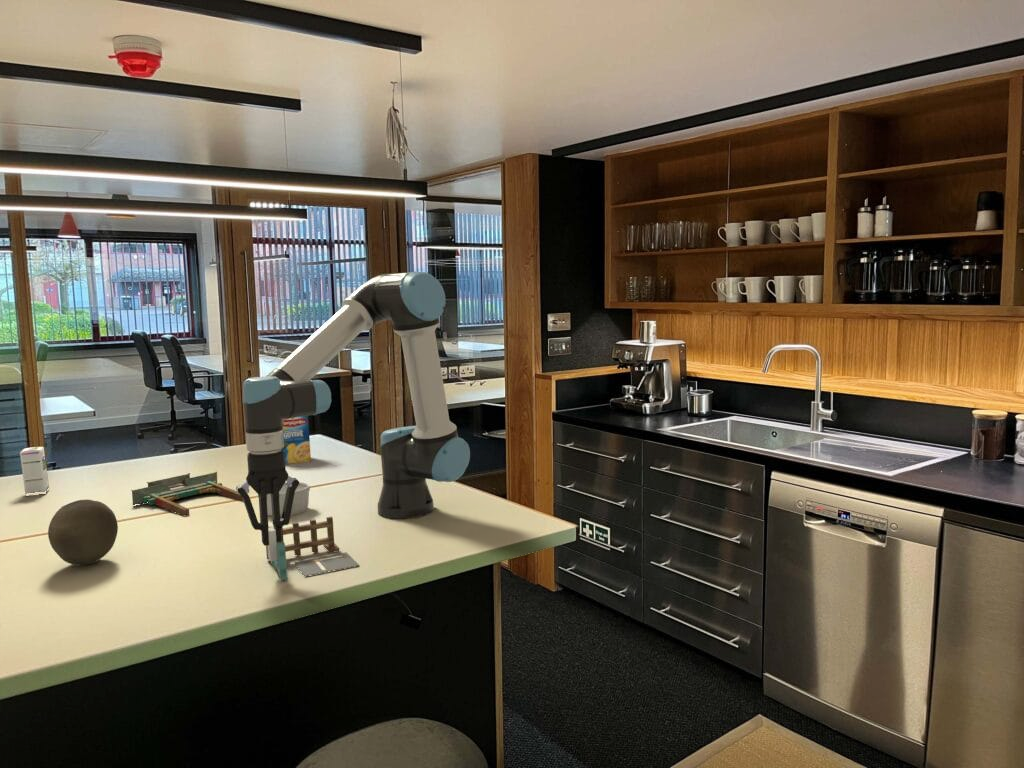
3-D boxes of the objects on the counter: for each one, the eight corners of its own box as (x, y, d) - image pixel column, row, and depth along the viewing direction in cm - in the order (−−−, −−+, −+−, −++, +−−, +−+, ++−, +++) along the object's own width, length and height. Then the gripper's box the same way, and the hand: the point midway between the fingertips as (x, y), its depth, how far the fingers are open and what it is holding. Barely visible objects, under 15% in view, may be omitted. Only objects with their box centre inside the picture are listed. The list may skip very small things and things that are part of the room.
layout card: (346, 553, 182) (346, 551, 182) (359, 566, 173) (359, 564, 173) (294, 563, 177) (293, 561, 176) (304, 577, 168) (304, 575, 168)
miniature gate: (170, 507, 214) (120, 484, 233) (171, 527, 215) (121, 502, 234) (257, 486, 234) (205, 467, 253) (258, 504, 235) (205, 483, 254)
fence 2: (333, 545, 188) (331, 512, 187) (339, 551, 184) (337, 517, 183) (275, 556, 182) (273, 522, 181) (280, 562, 178) (277, 527, 177)
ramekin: (288, 502, 228) (286, 479, 227) (321, 508, 221) (319, 484, 220) (251, 515, 217) (249, 490, 216) (285, 521, 210) (283, 495, 209)
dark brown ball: (44, 566, 180) (36, 502, 178) (109, 550, 190) (103, 489, 188) (62, 581, 170) (54, 514, 168) (130, 563, 180) (124, 499, 178)
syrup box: (46, 494, 247) (41, 449, 245) (24, 497, 245) (19, 451, 243) (49, 490, 252) (44, 445, 250) (28, 492, 250) (23, 447, 248)
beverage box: (311, 461, 282) (307, 400, 280) (279, 464, 279) (275, 402, 276) (309, 457, 289) (305, 398, 286) (278, 460, 285) (274, 400, 282)
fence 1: (266, 557, 179) (263, 525, 178) (274, 556, 180) (272, 524, 179) (279, 580, 165) (277, 545, 164) (288, 578, 166) (285, 543, 165)
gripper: (236, 457, 159) (244, 569, 162) (300, 450, 165) (307, 558, 168) (230, 451, 166) (238, 559, 169) (292, 443, 172) (299, 548, 175)
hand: (272, 558), depth 169 cm, fingers closed
